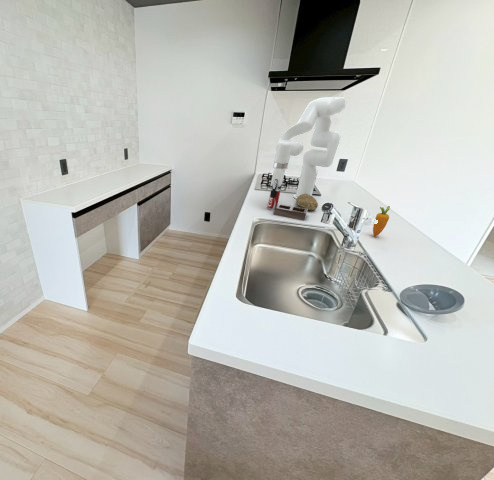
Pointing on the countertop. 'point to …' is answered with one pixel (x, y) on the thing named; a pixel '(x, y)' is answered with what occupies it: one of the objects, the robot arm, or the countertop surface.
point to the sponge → (307, 202)
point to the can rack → (291, 211)
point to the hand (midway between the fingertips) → (274, 195)
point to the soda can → (273, 201)
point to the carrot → (381, 221)
